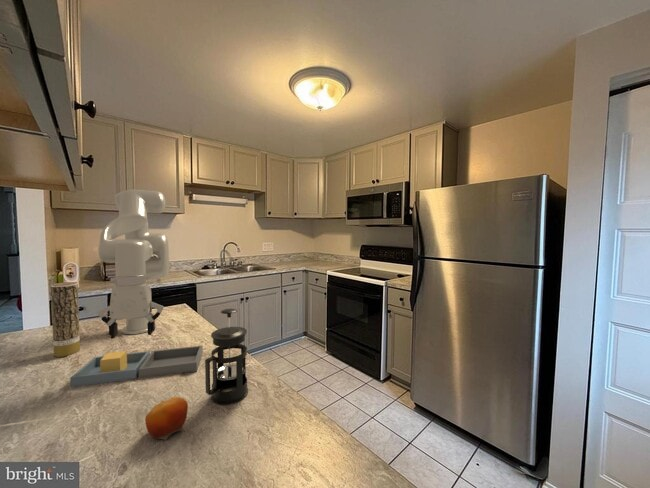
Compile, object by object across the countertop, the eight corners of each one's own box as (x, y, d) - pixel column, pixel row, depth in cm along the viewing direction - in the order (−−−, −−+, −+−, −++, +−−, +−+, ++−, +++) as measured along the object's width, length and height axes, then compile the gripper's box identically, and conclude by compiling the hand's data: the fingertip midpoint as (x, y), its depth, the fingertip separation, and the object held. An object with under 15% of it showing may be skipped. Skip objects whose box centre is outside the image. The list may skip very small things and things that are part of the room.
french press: (236, 379, 81) (236, 302, 80) (257, 391, 75) (256, 308, 74) (197, 399, 71) (196, 312, 70) (217, 413, 66) (216, 319, 65)
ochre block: (108, 368, 86) (108, 352, 86) (127, 366, 87) (126, 351, 87) (100, 376, 81) (100, 360, 81) (120, 374, 83) (119, 357, 82)
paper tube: (85, 349, 100) (82, 282, 99) (65, 358, 93) (63, 285, 92) (68, 348, 101) (65, 281, 100) (48, 357, 94) (45, 285, 93)
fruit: (163, 447, 54) (151, 406, 55) (146, 452, 57) (136, 414, 59) (201, 423, 60) (189, 387, 62) (183, 429, 64) (173, 395, 66)
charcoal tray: (152, 359, 93) (152, 350, 93) (202, 353, 97) (202, 345, 97) (138, 379, 81) (138, 369, 80) (196, 371, 85) (196, 362, 85)
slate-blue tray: (94, 366, 88) (94, 356, 88) (150, 359, 93) (149, 351, 93) (70, 388, 76) (70, 377, 76) (135, 379, 80) (135, 369, 80)
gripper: (91, 284, 78) (93, 343, 79) (159, 281, 84) (161, 336, 84) (103, 280, 85) (104, 334, 86) (165, 277, 91) (166, 328, 92)
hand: (132, 335), depth 85 cm, fingers open, 9 cm apart
